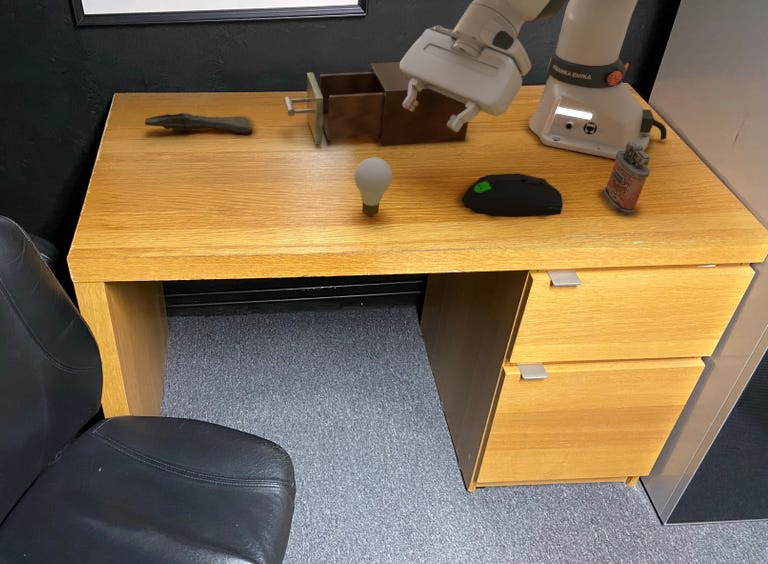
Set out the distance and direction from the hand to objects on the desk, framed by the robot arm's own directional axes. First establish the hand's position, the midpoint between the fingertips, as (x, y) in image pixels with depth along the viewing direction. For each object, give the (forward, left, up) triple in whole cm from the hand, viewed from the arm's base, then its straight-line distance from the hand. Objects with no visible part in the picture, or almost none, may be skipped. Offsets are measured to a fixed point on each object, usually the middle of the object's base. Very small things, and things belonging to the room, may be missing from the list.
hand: (428, 118), depth 109 cm
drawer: (+25, -12, -13) cm, 31 cm away
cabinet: (+14, -23, -14) cm, 31 cm away
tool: (+48, +3, -14) cm, 50 cm away
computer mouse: (-13, -9, -14) cm, 21 cm away
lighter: (-28, -19, -14) cm, 37 cm away
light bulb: (+3, +10, -14) cm, 18 cm away
